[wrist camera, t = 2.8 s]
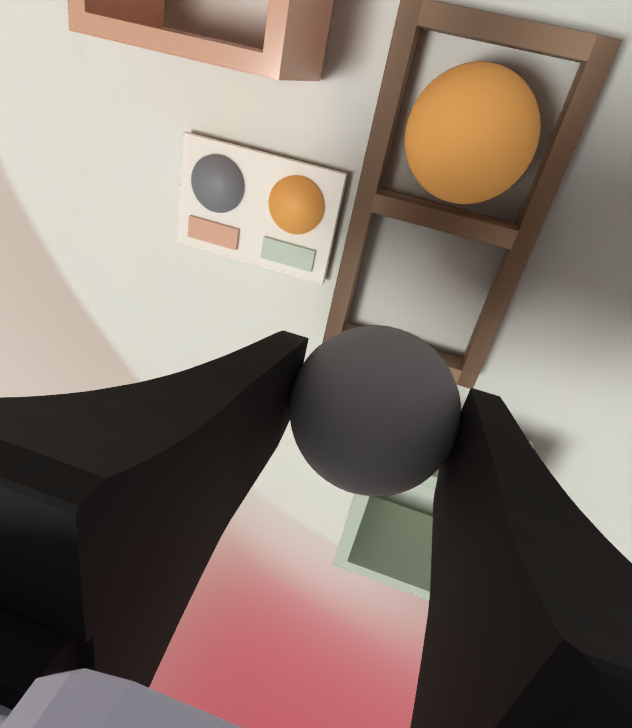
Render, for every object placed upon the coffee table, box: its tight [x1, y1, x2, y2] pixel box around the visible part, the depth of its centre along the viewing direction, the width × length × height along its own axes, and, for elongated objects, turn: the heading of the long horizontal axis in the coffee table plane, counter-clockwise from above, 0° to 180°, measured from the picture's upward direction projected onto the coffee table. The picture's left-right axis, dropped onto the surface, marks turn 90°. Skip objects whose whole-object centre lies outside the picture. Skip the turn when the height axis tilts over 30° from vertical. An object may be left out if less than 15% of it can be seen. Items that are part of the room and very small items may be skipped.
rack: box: [323, 0, 622, 389], centre depth 17 cm, size 6×11×1 cm, turn 168°
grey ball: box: [290, 325, 461, 496], centre depth 11 cm, size 4×4×4 cm
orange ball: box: [405, 62, 541, 204], centre depth 14 cm, size 4×4×4 cm
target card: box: [177, 132, 348, 284], centre depth 19 cm, size 6×4×1 cm, turn 79°
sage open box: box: [333, 440, 534, 600], centre depth 20 cm, size 6×6×4 cm
